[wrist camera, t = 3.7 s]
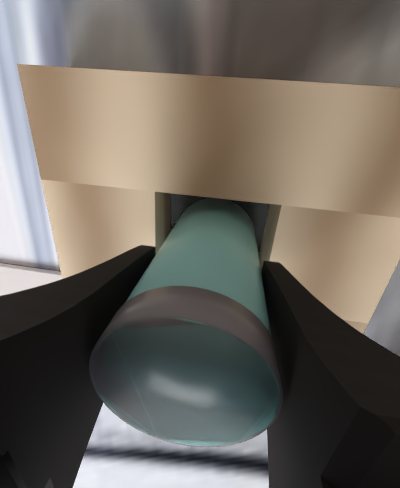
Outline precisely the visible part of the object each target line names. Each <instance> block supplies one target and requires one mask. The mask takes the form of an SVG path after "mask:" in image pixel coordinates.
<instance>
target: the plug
mask: <svg viewBox="0 0 400 488" xmlns="http://www.w3.org/2000/svg"><path fill="white" fill-rule="evenodd" d="M89 372H90V377H91V381H92V384H93V386H94V388H95V391H96V392H97V394H98V395H99V397H100V399H101V400H102V401H103V402H104V404H105V405H106V406H107V407H108V408H109V409H110V410H111V411H112V412H113V413H114V414H115V415H117V416H118V417H119V418H120V419H122V420H123V421H125V422H126V423H127V424H129V425H131V426H132V427H134V428H136V429H138V430H139V431H142V432H144V433H146V434H148V435H150V436H153V437H155V438H158V439H161V440H164V441H167V442H171V443H176V444H180V445H186V446H195V447H221V446H228V445H233V444H237V443H241V442H244V441H247V440H249V439H252V438H253V437H255V436H257V435H259V434H261V433H262V432H263V431H265V430H266V429H267V428H268V427H269V426H270V425H271V424H272V423H273V422H274V421H275V419H276V418H277V416H278V414H279V412H280V410H281V406H282V402H283V391H282V385H281V379H280V373H279V367H278V362H277V356H276V350H275V345H274V342H273V340H272V337H271V331H270V325H269V318H268V312H267V306H266V300H265V293H264V287H263V281H262V274H261V268H260V262H259V255H258V249H257V243H256V237H255V230H254V226H253V223H252V221H251V219H250V217H249V216H248V214H247V213H246V212H245V211H244V210H243V209H242V208H241V207H240V206H239V205H237V204H235V203H233V202H231V201H229V200H226V199H219V198H207V199H203V200H200V201H197V202H195V203H193V204H192V205H190V206H189V207H188V208H187V209H186V210H185V211H184V212H183V213H182V215H181V216H180V218H179V219H178V221H177V223H176V224H175V226H174V227H173V229H172V230H171V232H170V233H169V235H168V237H167V238H166V240H165V241H164V243H163V244H162V246H161V247H160V249H159V251H158V252H157V254H156V255H155V257H154V258H153V260H152V261H151V263H150V265H149V266H148V268H147V269H146V271H145V272H144V274H143V275H142V277H141V279H140V280H139V282H138V283H137V285H136V286H135V288H134V290H133V291H132V293H131V294H130V296H129V297H128V299H127V300H126V302H125V304H123V305H122V306H121V308H120V309H119V310H118V311H117V312H116V314H115V315H114V317H113V318H112V320H111V322H110V323H109V325H108V326H107V328H106V329H105V331H104V332H103V334H102V335H101V337H100V338H99V340H98V341H97V343H96V345H95V347H94V348H93V350H92V353H91V356H90V361H89Z"/></svg>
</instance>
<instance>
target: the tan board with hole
mask: <svg viewBox="0 0 400 488" xmlns="http://www.w3.org/2000/svg"><path fill="white" fill-rule="evenodd" d="M17 66H18V71H19V76H20V81H21V85H22V90H23V95H24V100H25V104H26V109H27V114H28V119H29V123H30V128H31V133H32V138H33V143H34V147H35V152H36V157H37V162H38V166H39V171H40V176H41V181H42V185H43V190H44V195H45V200H46V205H47V209H48V214H49V219H50V224H51V228H52V233H53V238H54V243H55V248H56V252H57V257H58V262H59V267H60V271H61V276H62V279H64V278H67V277H69V276H72V275H75V274H77V273H80V272H82V271H85V270H87V269H89V268H92V267H94V266H96V265H99V264H101V263H103V262H105V261H108V260H110V259H112V258H114V257H116V256H118V255H120V254H122V253H124V252H126V251H128V250H130V249H133V248H135V247H137V246H140V245H146V246H154V247H156V254H157V252H158V251H159V249H160V247H161V246H162V244H163V243H164V241H165V240H166V238H167V237H168V235H169V233H170V227H171V193H172V194H182V195H191V196H200V197H210V198H219V199H229V200H238V201H247V202H257V203H266V204H269V209H268V214H267V219H266V224H265V229H264V234H263V239H262V244H261V249H260V254H259V262H260V268H261V272H262V267H263V262H264V261H272V262H279V263H281V264H282V265H283V266H284V267H285V268H286V269H287V270H288V271H289V272H290V273H291V274H292V275H293V276H294V277H295V278H296V279H297V280H298V281H299V282H300V283H301V284H302V285H303V286H304V287H305V288H306V289H307V290H308V291H309V292H310V293H311V294H312V295H313V296H315V297H316V298H317V299H318V300H319V301H320V302H321V303H323V304H324V305H325V306H326V307H327V308H328V309H330V310H331V311H332V312H333V313H335V314H336V315H337V316H339V317H340V318H341V319H343V320H344V321H345V322H347V323H348V324H349V325H351V326H352V327H354V328H355V329H356V330H358V331H359V332H361V333H362V334H363V333H364V331H365V329H366V327H367V325H368V323H369V321H370V319H371V317H372V315H373V313H374V311H375V309H376V307H377V305H378V303H379V301H380V299H381V297H382V295H383V293H384V290H385V288H386V286H387V284H388V282H389V280H390V278H391V276H392V274H393V272H394V270H395V268H396V266H397V264H398V262H399V260H400V87H386V86H370V85H353V84H336V83H320V82H303V81H287V80H270V79H254V78H237V77H221V76H204V75H188V74H171V73H155V72H138V71H122V70H105V69H89V68H72V67H56V66H39V65H23V64H17Z"/></svg>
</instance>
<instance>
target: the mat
mask: <svg viewBox="0 0 400 488" xmlns="http://www.w3.org/2000/svg"><path fill="white" fill-rule="evenodd" d="M61 279H62V276H61V272H59V271H52V270H45V269H38V268H31V267H24V266H17V265H10V264H3V263H0V296H2V295H7V294H11V293H15V292H19V291H23V290H26V289H30V288H34V287H38V286H41V285H45V284H48V283H52V282H55V281H58V280H61Z"/></svg>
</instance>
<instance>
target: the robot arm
mask: <svg viewBox="0 0 400 488" xmlns="http://www.w3.org/2000/svg"><path fill="white" fill-rule="evenodd" d="M155 255H156V247H154V246H146V245H140V246H137V247H135V248H133V249H130V250H128V251H126V252H124V253H122V254H120V255H118V256H116V257H114V258H112V259H110V260H108V261H105V262H103V263H101V264H99V265H96V266H94V267H92V268H89V269H87V270H85V271H82V272H80V273H77V274H75V275H72V276H69V277H67V278H64V279H61V280H58V281H55V282H52V283H48V284H45V285H41V286H38V287H34V288H30V289H26V290H23V291H19V292H15V293H11V294H7V295H2V296H0V488H72V487H73V485H74V482H75V479H76V476H77V473H78V470H79V467H80V464H81V461H82V458H83V456H84V453H85V450H86V447H87V445H88V442H89V439H90V436H91V434H92V431H93V428H94V426H95V423H96V420H97V417H98V415H99V412H100V410H101V407H102V405H103V401H102V400H101V399H100V397H99V395H98V394H97V392H96V391H95V388H94V386H93V384H92V381H91V377H90V372H89V361H90V356H91V353H92V350H93V348H94V347H95V345H96V343H97V341H98V340H99V338H100V337H101V335H102V334H103V332H104V331H105V329H106V328H107V326H108V325H109V323H110V322H111V320H112V318H113V317H114V315H115V314H116V312H117V311H118V310H119V309H120V308H121V306H122V305H123V304H125V302H126V300H127V299H128V297H129V296H130V294H131V293H132V291H133V290H134V288H135V286H136V285H137V283H138V282H139V280H140V279H141V277H142V275H143V274H144V272H145V271H146V269H147V268H148V266H149V265H150V263H151V261H152V260H153V258H154V257H155ZM261 274H262V281H263V287H264V293H265V300H266V306H267V312H268V318H269V325H270V331H271V337H272V340H273V342H274V345H275V350H276V356H277V362H278V367H279V373H280V379H281V385H282V391H283V402H282V406H281V410H280V412H279V414H278V416H277V418H276V419H275V421H274V422H273V423H272V424H271V425H270V426H269V427H268V428H267V436H268V464H269V488H400V357H399V356H397V355H396V354H394V353H392V352H391V351H389V350H387V349H386V348H384V347H383V346H381V345H379V344H378V343H376V342H375V341H373V340H371V339H370V338H368V337H367V336H365V335H364V334H362V333H361V332H359V331H358V330H356V329H355V328H354V327H352V326H351V325H349V324H348V323H347V322H345V321H344V320H343V319H341V318H340V317H339V316H337V315H336V314H335V313H333V312H332V311H331V310H330V309H328V308H327V307H326V306H325V305H324V304H323V303H321V302H320V301H319V300H318V299H317V298H316V297H315V296H313V295H312V294H311V293H310V292H309V291H308V290H307V289H306V288H305V287H304V286H303V285H302V284H301V283H300V282H299V281H298V280H297V279H296V278H295V277H294V276H293V275H292V274H291V273H290V272H289V271H288V270H287V269H286V268H285V267H284V266H283V265H282V264H281V263H279V262H272V261H264V262H263V267H262V272H261Z"/></svg>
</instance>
